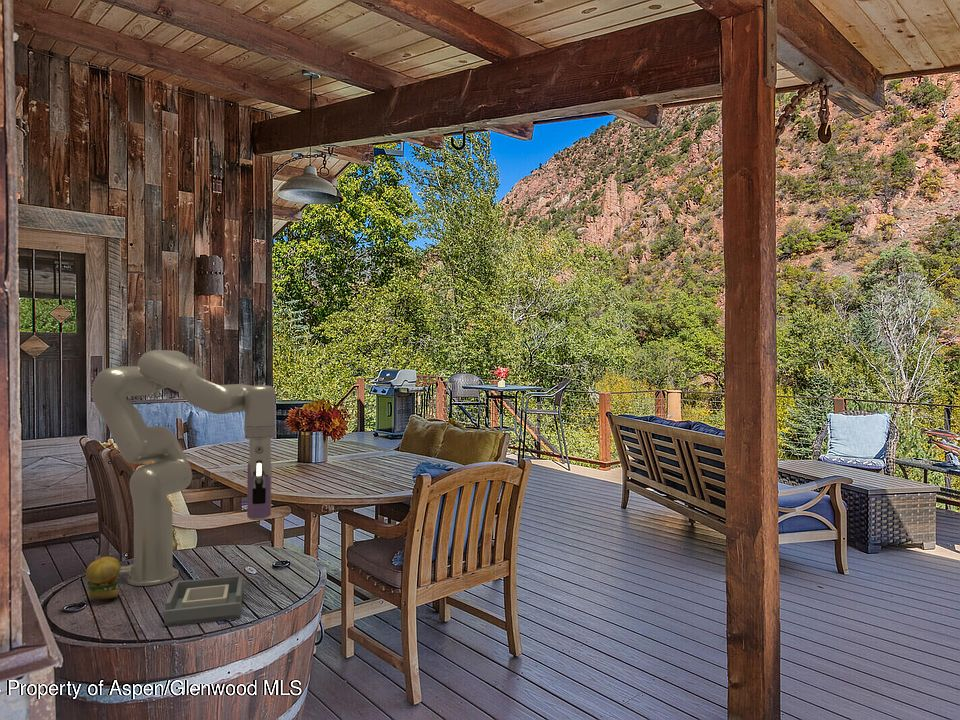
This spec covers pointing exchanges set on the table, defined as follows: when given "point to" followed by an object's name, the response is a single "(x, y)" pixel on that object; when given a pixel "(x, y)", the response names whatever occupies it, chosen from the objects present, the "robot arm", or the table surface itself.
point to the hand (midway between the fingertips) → (259, 500)
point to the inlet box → (204, 600)
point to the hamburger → (103, 577)
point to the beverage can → (258, 509)
